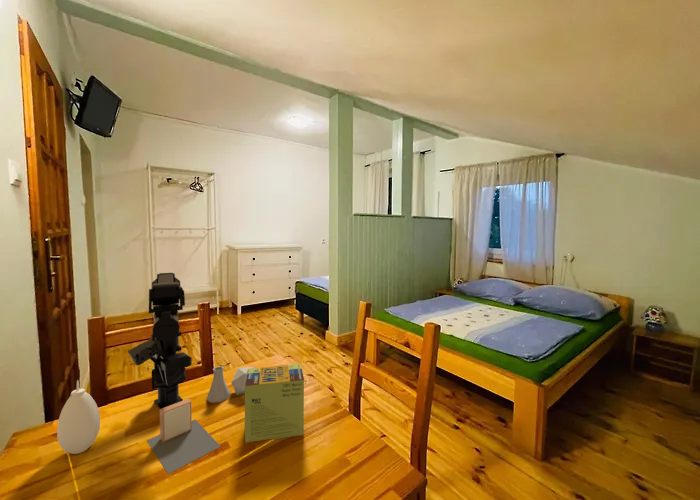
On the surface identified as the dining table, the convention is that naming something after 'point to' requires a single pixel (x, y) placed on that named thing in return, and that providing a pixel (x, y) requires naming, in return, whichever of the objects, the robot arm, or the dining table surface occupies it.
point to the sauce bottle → (78, 422)
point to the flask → (218, 387)
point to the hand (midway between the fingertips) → (167, 384)
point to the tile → (175, 420)
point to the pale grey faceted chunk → (240, 380)
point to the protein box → (274, 402)
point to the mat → (183, 447)
